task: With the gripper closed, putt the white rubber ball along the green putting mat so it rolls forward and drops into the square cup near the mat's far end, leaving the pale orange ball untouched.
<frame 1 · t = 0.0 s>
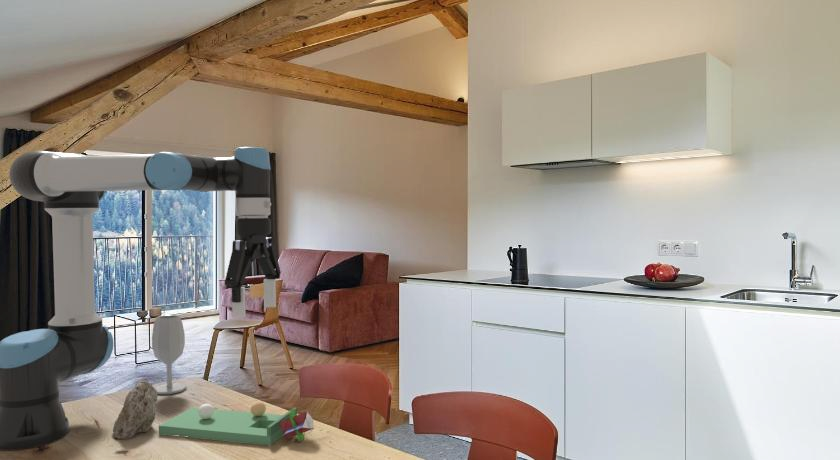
hand: (255, 312, 138), 28 cm above the table, fingers open, 13 cm apart
putting mat: (229, 429, 143), on the table
rock: (137, 430, 144), on the table
wineglass: (169, 391, 174), on the table
orange ball: (258, 408, 146), point 4 cm above the table, touching putting mat
geometric puzzle: (296, 440, 137), on the table
white ball: (206, 411, 145), point 4 cm above the table, touching putting mat
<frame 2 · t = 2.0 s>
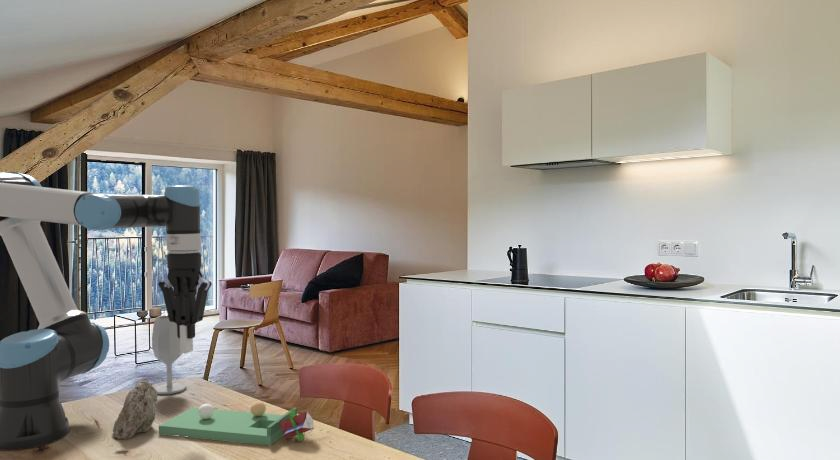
hand: (186, 351, 145), 18 cm above the table, fingers closed
nothing on the table moved.
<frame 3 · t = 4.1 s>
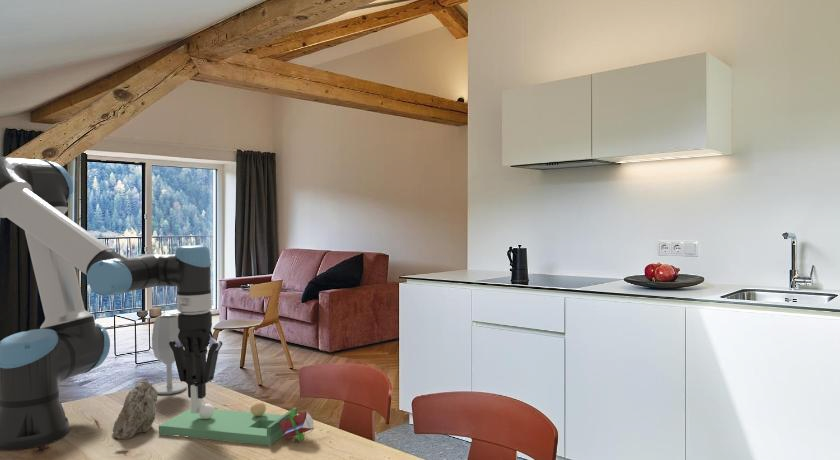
hand: (197, 411, 145), 4 cm above the table, fingers closed
white ball: (206, 411, 145), point 4 cm above the table, touching gripper
everything else where it was.
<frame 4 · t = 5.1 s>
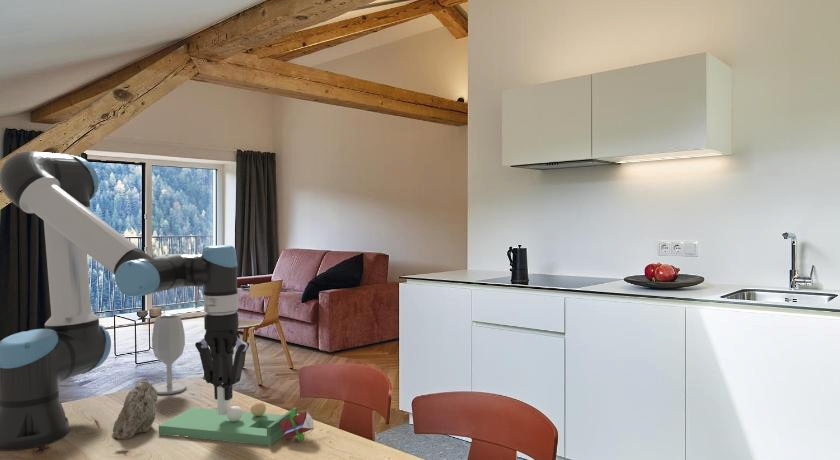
hand: (224, 413, 143), 4 cm above the table, fingers closed
white ball: (234, 413, 143), point 4 cm above the table, tilted 117°, touching putting mat
everything else where it was.
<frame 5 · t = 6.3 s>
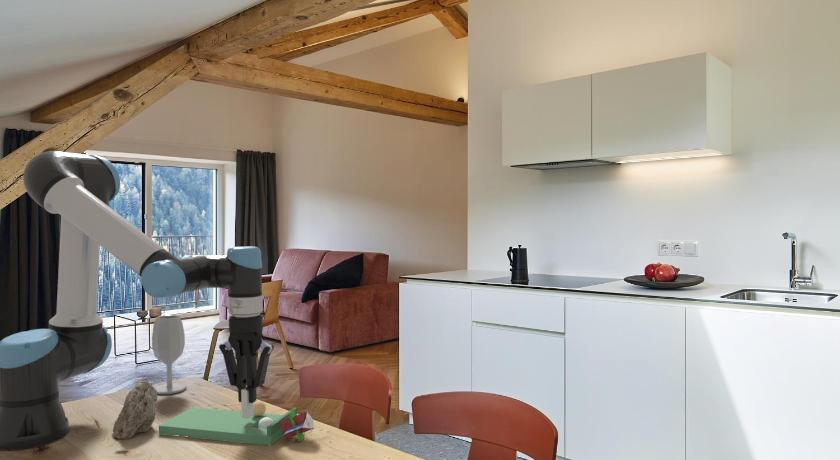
hand: (247, 416, 142), 4 cm above the table, fingers closed
white ball: (266, 425, 141), point 2 cm above the table, tilted 169°
everything else where it was.
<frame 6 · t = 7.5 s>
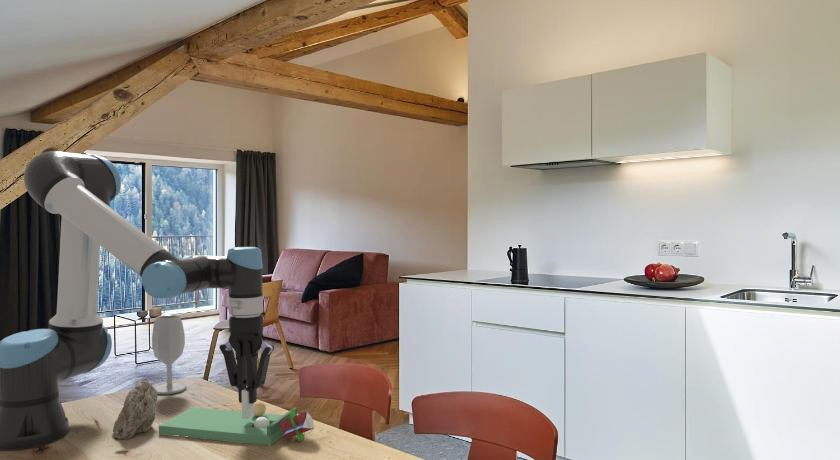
hand: (248, 416, 142), 3 cm above the table, fingers closed
white ball: (261, 424, 141), point 2 cm above the table, tilted 133°
everything else where it was.
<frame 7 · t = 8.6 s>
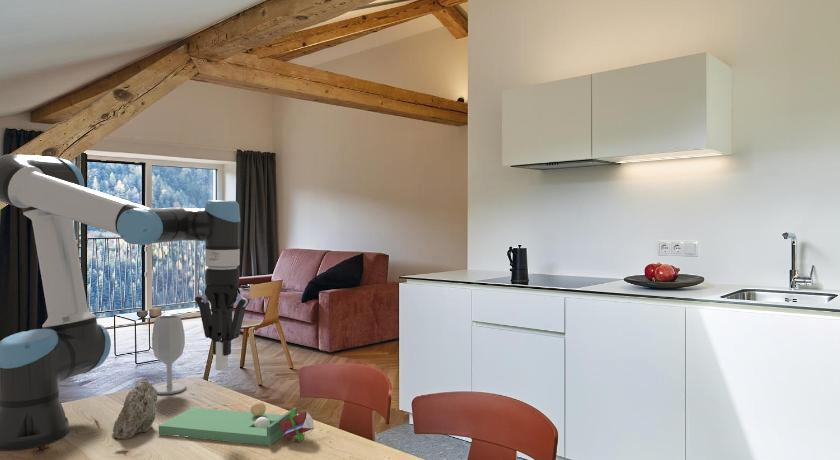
hand: (221, 368, 143), 14 cm above the table, fingers closed
nothing on the table moved.
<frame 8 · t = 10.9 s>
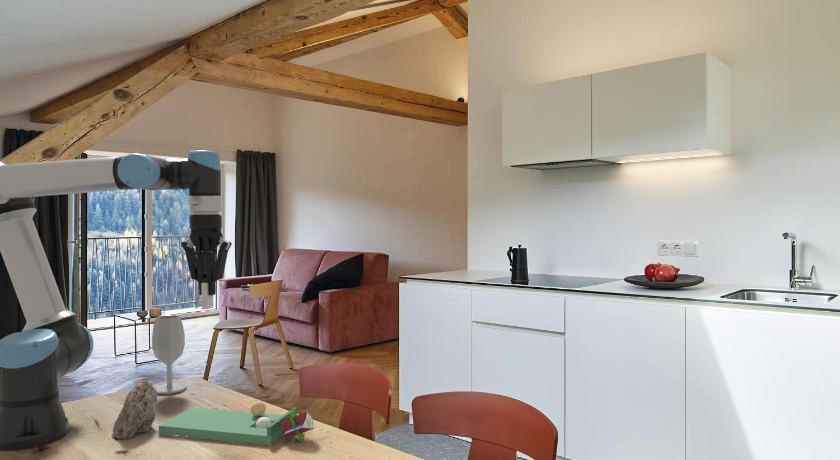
hand: (207, 308, 154), 26 cm above the table, fingers closed
white ball: (263, 425, 141), point 2 cm above the table, tilted 148°
everything else where it was.
at the end: white ball 0.2 cm from the target spot on the putting mat, point 1.7 cm above the putting mat's base; orange ball moved 0.0 cm from its start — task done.
